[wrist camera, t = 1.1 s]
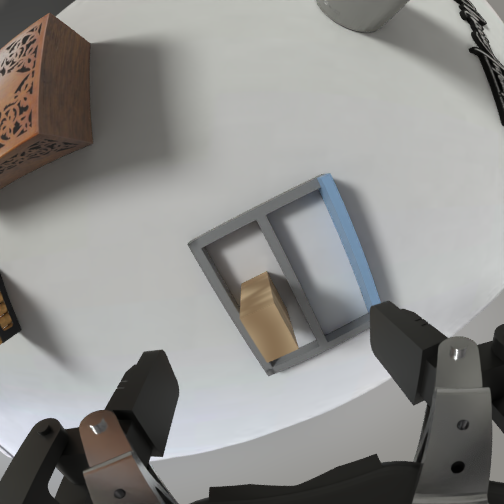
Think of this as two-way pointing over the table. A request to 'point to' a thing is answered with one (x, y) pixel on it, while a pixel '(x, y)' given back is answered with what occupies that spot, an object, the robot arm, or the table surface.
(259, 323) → the plug block
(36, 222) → the table surface
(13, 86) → the tissue box cover
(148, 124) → the table surface
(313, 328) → the organizer
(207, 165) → the table surface
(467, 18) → the nameplate
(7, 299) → the ammunition clip
